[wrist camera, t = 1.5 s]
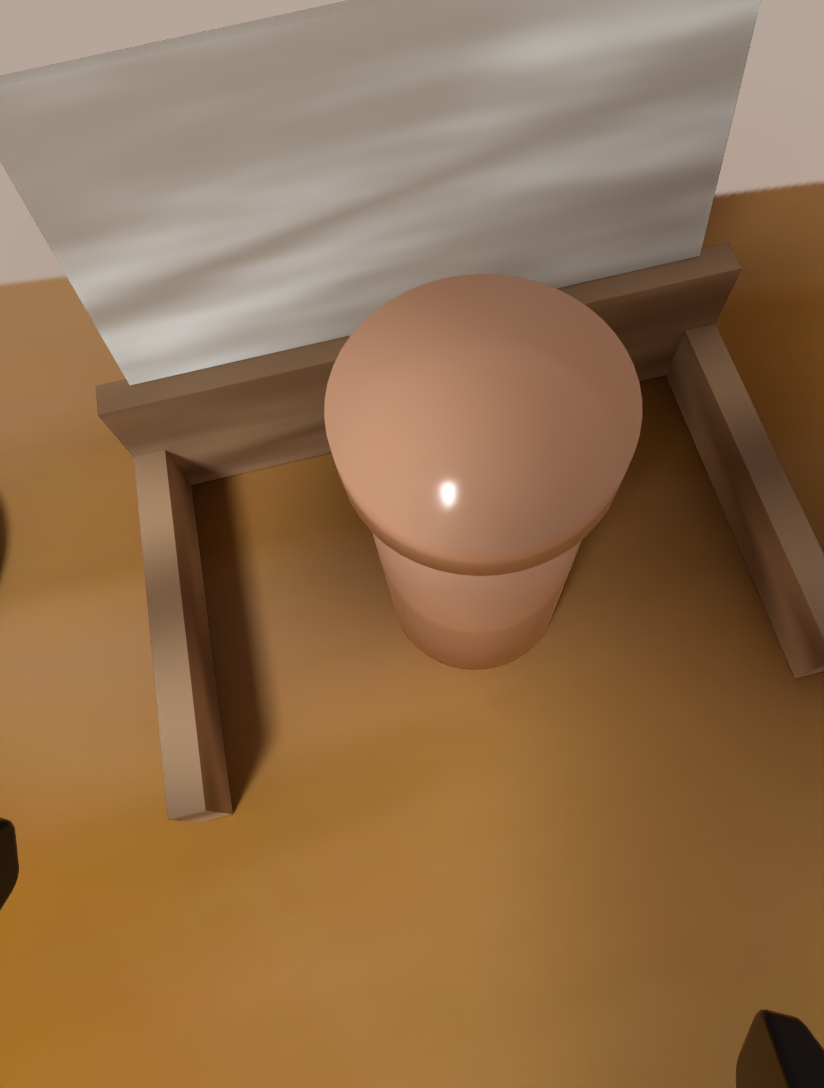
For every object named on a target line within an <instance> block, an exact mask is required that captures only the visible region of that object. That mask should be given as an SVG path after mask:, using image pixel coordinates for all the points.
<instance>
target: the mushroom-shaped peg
mask: <svg viewBox="0 0 824 1088" xmlns="http://www.w3.org/2000/svg"><path fill="white" fill-rule="evenodd" d="M324 419H325V427H326V435H327V438H328V442H329V445H330V449H331V452H332V455H333V458H334V461H335V464H336V467H337V470H338V473H339V476H340V479H341V482H342V485H343V488H344V490H345V493H346V495H347V497H348V499H349V501H350V503H351V505H352V507H353V508H354V510H355V512H356V513H357V515H358V516H359V518H360V519H361V520H362V522H363V523H364V524H365V525H366V526H367V527H368V528H369V530H370V531H371V532H372V534H373V537H374V540H375V544H376V547H377V551H378V554H379V557H380V561H381V564H382V568H383V571H384V575H385V578H386V581H387V585H388V588H389V592H390V595H391V598H392V602H393V605H394V609H395V612H396V615H397V618H398V620H399V623H400V625H401V627H402V629H403V630H404V632H405V633H406V635H407V636H408V638H409V639H410V640H411V641H412V642H413V644H414V645H416V646H417V647H418V648H419V649H420V650H421V651H422V652H424V653H425V654H427V655H428V656H429V657H431V658H433V659H435V660H437V661H439V662H440V663H443V664H446V665H449V666H452V667H456V668H461V669H471V670H478V669H488V668H494V667H498V666H501V665H504V664H507V663H509V662H511V661H513V660H516V659H517V658H519V657H520V656H522V655H523V654H525V653H526V652H527V651H528V650H530V649H531V648H532V647H533V646H534V645H535V644H536V643H537V642H538V641H539V639H540V638H541V637H542V635H543V634H544V632H545V631H546V629H547V627H548V625H549V623H550V621H551V618H552V616H553V613H554V611H555V608H556V606H557V603H558V600H559V598H560V595H561V593H562V590H563V587H564V585H565V582H566V580H567V577H568V575H569V572H570V569H571V567H572V564H573V562H574V559H575V557H576V554H577V551H578V549H579V546H580V544H581V541H582V539H584V538H585V537H586V536H587V535H588V534H589V533H590V532H591V531H592V530H593V529H594V528H595V527H596V525H597V524H598V523H599V522H600V521H601V519H602V518H603V516H604V515H605V514H606V512H607V511H608V509H609V508H610V506H611V504H612V502H613V500H614V498H615V496H616V494H617V492H618V489H619V487H620V485H621V483H622V480H623V478H624V476H625V473H626V471H627V469H628V467H629V464H630V462H631V460H632V457H633V455H634V452H635V449H636V446H637V443H638V439H639V436H640V430H641V423H642V395H641V389H640V383H639V379H638V376H637V373H636V370H635V367H634V364H633V362H632V360H631V358H630V356H629V354H628V352H627V350H626V348H625V347H624V345H623V344H622V342H621V341H620V339H619V338H618V336H617V335H616V334H615V332H614V331H613V330H612V329H611V328H610V327H609V326H608V325H607V324H606V322H605V321H604V320H603V319H602V318H600V317H599V316H598V315H597V314H596V313H595V312H593V311H592V310H591V309H590V308H589V307H587V306H586V305H584V304H583V303H581V302H580V301H578V300H577V299H575V298H574V297H572V296H570V295H568V294H566V293H564V292H562V291H560V290H558V289H556V288H553V287H550V286H548V285H545V284H542V283H540V282H536V281H532V280H528V279H525V278H521V277H514V276H507V275H498V274H472V275H460V276H455V277H449V278H443V279H440V280H436V281H433V282H429V283H425V284H423V285H420V286H418V287H415V288H413V289H410V290H408V291H406V292H404V293H402V294H400V295H399V296H397V297H395V298H393V299H391V300H390V301H388V302H387V303H385V304H384V305H383V306H381V307H380V308H378V309H377V310H376V311H374V312H373V313H372V314H371V315H370V316H369V317H368V318H366V319H365V320H364V321H363V322H362V323H361V324H360V325H359V327H358V328H357V329H356V330H355V331H354V332H353V333H352V335H351V336H350V337H349V339H348V340H347V342H346V343H345V345H344V346H343V348H342V349H341V351H340V353H339V355H338V357H337V359H336V361H335V363H334V365H333V368H332V371H331V374H330V377H329V380H328V383H327V389H326V395H325V406H324Z"/></svg>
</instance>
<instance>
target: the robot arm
mask: <svg viewBox="0 0 824 1088" xmlns="http://www.w3.org/2000/svg"><path fill="white" fill-rule="evenodd" d="M18 873H19V863H18V853H17V844H16V835H15V828H14V825H13V824H12V822H11V821H9V820H7V819H3V818H0V910H1V908H2V907H3V905H4V903H5V902H6V900H7V899H8V897H9V895H10V894H11V892H12V890H13V888H14V886H15V884H16V881H17V878H18ZM736 1088H824V1049H823V1048H822V1047H821V1045H820V1044H819V1042H818V1041H817V1040H816V1038H815V1037H814V1036H813V1034H812V1033H811V1032H810V1030H809V1029H808V1028H807V1026H806V1025H805V1024H804V1023H803V1022H802V1021H801V1020H799V1019H798V1018H796V1017H793V1016H790V1015H786V1014H782V1013H778V1012H774V1011H770V1010H760V1011H759V1012H758V1013H757V1014H756V1015H755V1017H754V1019H753V1022H752V1024H751V1027H750V1029H749V1032H748V1034H747V1037H746V1039H745V1042H744V1044H743V1047H742V1049H741V1051H740V1054H739V1057H738V1060H737V1066H736Z"/></svg>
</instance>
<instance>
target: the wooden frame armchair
mask: <svg viewBox="0 0 824 1088" xmlns="http://www.w3.org/2000/svg"><path fill="white" fill-rule="evenodd" d="M760 1H761V0H347V1H343V2H338V3H334V4H329V5H324V6H320V7H315V8H310V9H306V10H301V11H297V12H292V13H287V14H283V15H278V16H274V17H269V18H264V19H260V20H255V21H250V22H246V23H241V24H237V25H232V26H227V27H223V28H218V29H213V30H209V31H204V32H200V33H195V34H190V35H186V36H181V37H177V38H172V39H167V40H163V41H158V42H154V43H149V44H144V45H140V46H135V47H131V48H126V49H122V50H116V51H112V52H107V53H103V54H98V55H93V56H89V57H84V58H80V59H76V60H70V61H66V62H61V63H56V64H52V65H47V66H43V67H38V68H34V69H29V70H24V71H20V72H15V73H10V74H6V75H1V76H0V162H1V164H2V165H3V167H4V168H5V171H6V172H7V174H8V176H9V177H10V179H11V181H12V183H13V184H14V186H15V188H16V190H17V191H18V193H19V195H20V196H21V198H22V200H23V202H24V203H25V205H26V207H27V209H28V210H29V212H30V214H31V216H32V217H33V219H34V221H35V222H36V224H37V226H38V228H39V229H40V231H41V233H42V234H43V236H44V238H45V240H46V241H47V243H48V245H49V247H50V248H51V250H52V252H53V253H54V255H55V257H56V259H57V260H58V262H59V264H60V266H61V267H62V269H63V271H64V273H65V274H66V276H67V278H68V279H69V281H70V283H71V285H72V286H73V288H74V290H75V292H76V293H77V295H78V297H79V298H80V300H81V302H82V304H83V305H84V307H85V309H86V311H87V312H88V314H89V316H90V318H91V319H92V321H93V323H94V324H95V326H96V328H97V330H98V331H99V333H100V335H101V337H102V338H103V340H104V342H105V343H106V345H107V347H108V349H109V350H110V352H111V354H112V356H113V357H114V359H115V361H116V362H117V364H118V366H119V368H120V369H121V371H122V373H123V375H124V376H125V378H126V379H125V380H120V381H116V382H112V383H107V384H103V385H98V386H96V398H97V411H98V416H99V417H100V418H101V419H102V421H103V422H104V423H105V424H106V425H107V426H108V428H109V429H110V430H111V431H112V432H113V433H114V435H115V436H116V437H117V438H118V439H119V440H120V442H121V443H122V444H123V445H124V446H125V448H126V449H127V450H128V451H129V452H130V453H131V455H132V456H133V457H134V466H135V477H136V487H137V498H138V509H139V519H140V530H141V540H142V551H143V562H144V572H145V583H146V593H147V604H148V615H149V625H150V636H151V647H152V657H153V668H154V678H155V689H156V700H157V710H158V721H159V731H160V742H161V753H162V763H163V774H164V785H165V795H166V806H167V816H168V820H177V821H189V822H203V821H207V820H211V819H216V818H220V817H224V816H228V815H232V814H233V811H232V803H231V795H230V787H229V779H228V771H227V763H226V755H225V747H224V739H223V732H222V724H221V716H220V708H219V700H218V692H217V684H216V676H215V668H214V660H213V652H212V644H211V636H210V628H209V620H208V612H207V605H206V597H205V589H204V581H203V573H202V565H201V557H200V549H199V541H198V533H197V525H196V517H195V509H194V501H193V493H192V485H195V484H199V483H203V482H208V481H212V480H216V479H221V478H225V477H229V476H234V475H238V474H242V473H247V472H251V471H255V470H260V469H264V468H268V467H273V466H277V465H281V464H286V463H290V462H294V461H298V460H303V459H307V458H311V457H316V456H320V455H324V454H329V453H332V452H331V449H330V445H329V442H328V438H327V435H326V427H325V419H324V406H325V395H326V389H327V383H328V380H329V377H330V374H331V371H332V368H333V365H334V363H335V361H336V359H337V357H338V355H339V353H340V351H341V349H342V348H343V346H344V345H345V343H346V342H347V340H348V339H349V337H350V336H351V335H352V333H353V332H354V331H355V330H356V329H357V328H358V327H359V325H360V324H361V323H362V322H363V321H364V320H365V319H366V318H368V317H369V316H370V315H371V314H372V313H373V312H374V311H376V310H377V309H378V308H380V307H381V306H383V305H384V304H385V303H387V302H388V301H390V300H391V299H393V298H395V297H397V296H399V295H400V294H402V293H404V292H406V291H408V290H410V289H413V288H415V287H418V286H420V285H423V284H425V283H429V282H433V281H436V280H440V279H443V278H449V277H455V276H460V275H472V274H498V275H507V276H514V277H521V278H525V279H528V280H532V281H536V282H540V283H542V284H545V285H548V286H550V287H553V288H556V289H558V290H560V291H562V292H564V293H566V294H568V295H570V296H572V297H574V298H575V299H577V300H578V301H580V302H581V303H583V304H584V305H586V306H587V307H589V308H590V309H591V310H592V311H593V312H595V313H596V314H597V315H598V316H599V317H600V318H602V319H603V320H604V321H605V322H606V324H607V325H608V326H609V327H610V328H611V329H612V330H613V331H614V332H615V334H616V335H617V336H618V338H619V339H620V341H621V342H622V344H623V345H624V347H625V348H626V350H627V352H628V354H629V356H630V358H631V360H632V362H633V364H634V367H635V370H636V373H637V376H638V379H639V382H641V381H645V380H649V379H654V378H658V377H662V376H666V377H667V380H668V382H669V384H670V387H671V389H672V391H673V394H674V396H675V398H676V401H677V403H678V405H679V408H680V410H681V413H682V415H683V417H684V420H685V422H686V424H687V427H688V429H689V431H690V434H691V436H692V438H693V441H694V443H695V445H696V448H697V450H698V452H699V455H700V457H701V460H702V462H703V464H704V467H705V469H706V471H707V474H708V476H709V478H710V481H711V483H712V485H713V488H714V490H715V492H716V495H717V497H718V499H719V502H720V504H721V506H722V509H723V511H724V514H725V516H726V518H727V521H728V523H729V525H730V528H731V530H732V532H733V535H734V537H735V539H736V542H737V544H738V546H739V549H740V551H741V553H742V556H743V558H744V561H745V563H746V565H747V568H748V570H749V572H750V575H751V577H752V579H753V582H754V584H755V586H756V589H757V591H758V593H759V596H760V598H761V600H762V603H763V605H764V607H765V610H766V612H767V615H768V617H769V619H770V622H771V624H772V626H773V629H774V631H775V633H776V636H777V638H778V640H779V643H780V645H781V647H782V650H783V652H784V654H785V657H786V659H787V662H788V664H789V666H790V669H791V671H792V673H793V676H794V678H799V677H803V676H807V675H811V674H815V673H820V672H824V554H823V551H822V549H821V547H820V545H819V543H818V541H817V539H816V537H815V534H814V532H813V530H812V528H811V526H810V524H809V522H808V520H807V517H806V515H805V513H804V511H803V509H802V507H801V505H800V503H799V500H798V498H797V496H796V494H795V492H794V490H793V488H792V486H791V483H790V481H789V479H788V477H787V475H786V473H785V471H784V469H783V466H782V464H781V462H780V460H779V458H778V456H777V454H776V452H775V450H774V447H773V445H772V443H771V441H770V439H769V437H768V435H767V433H766V430H765V428H764V426H763V424H762V422H761V420H760V418H759V416H758V413H757V411H756V409H755V407H754V405H753V403H752V401H751V399H750V396H749V394H748V392H747V390H746V388H745V386H744V384H743V382H742V379H741V377H740V375H739V373H738V371H737V369H736V367H735V365H734V362H733V360H732V358H731V356H730V354H729V352H728V350H727V348H726V346H725V343H724V341H723V339H722V337H721V335H720V333H719V331H718V329H717V326H716V324H715V323H716V321H717V319H718V317H719V315H720V313H721V310H722V308H723V306H724V304H725V302H726V300H727V298H728V296H729V294H730V292H731V290H732V287H733V285H734V283H735V281H736V279H737V277H738V275H739V273H740V271H741V269H742V268H741V266H740V264H739V262H738V260H737V258H736V256H735V254H734V252H733V250H732V248H731V246H730V244H729V242H728V243H724V244H719V245H715V246H711V247H706V248H702V245H703V240H704V236H705V232H706V228H707V224H708V220H709V215H710V211H711V207H712V203H713V199H714V194H715V190H716V186H717V182H718V177H719V174H720V169H721V165H722V161H723V157H724V153H725V148H726V144H727V140H728V136H729V131H730V128H731V123H732V119H733V115H734V111H735V107H736V102H737V98H738V94H739V90H740V85H741V81H742V77H743V73H744V69H745V65H746V60H747V56H748V52H749V48H750V43H751V40H752V35H753V31H754V27H755V23H756V18H757V14H758V10H759V6H760Z"/></svg>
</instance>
